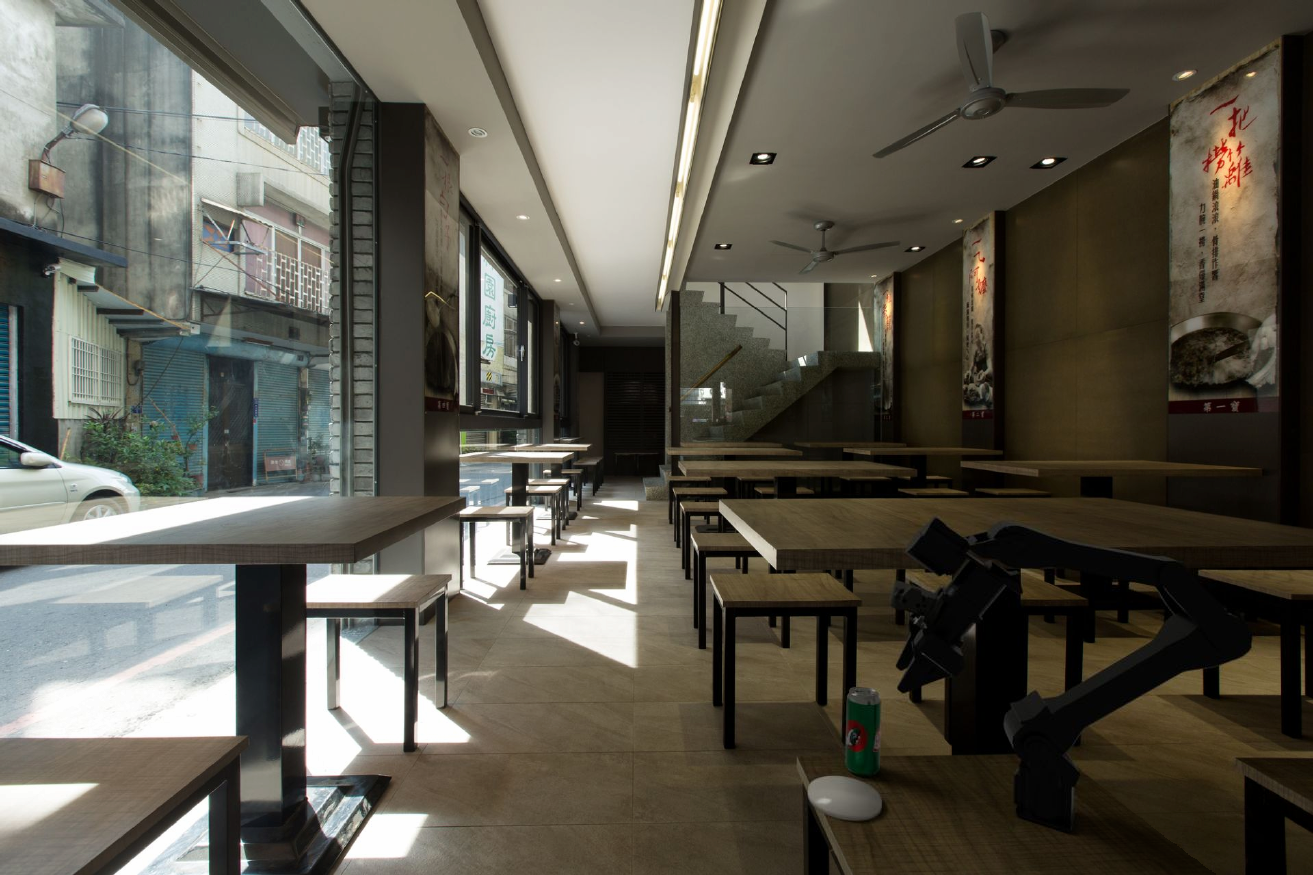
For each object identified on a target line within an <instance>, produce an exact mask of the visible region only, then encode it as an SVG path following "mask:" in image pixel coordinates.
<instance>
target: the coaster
mask: <svg viewBox="0 0 1313 875" xmlns="http://www.w3.org/2000/svg"><path fill="white" fill-rule="evenodd" d="M807 798H808V800H809V802H810V804H811V805H812V806H813V807H814V808H815V809H816V810H818V811H819V812H821V813H823V814H825V815H827V816H829V817H832V818H835V819H839V820H843V821H851V822H862V821H869V820H871V819H874V818H876V817H877V816H878V815H880V813H881V812H882V807H883V805H882V803H883V800H882V797H881V795H880V793H879V792H878V791H877V789H875V788H874V787H873V786H871V785H869V784H868V783H867V782H864V781H861V780H858V779H857V778H856V779H855V778H851V777H848V776H841V775H828V776H827V775H826V776H822V777H817V778H816V779H814V780H812V781H811V782H810V784H808V787H807Z"/></svg>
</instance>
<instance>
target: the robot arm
mask: <svg viewBox="0 0 1313 875" xmlns="http://www.w3.org/2000/svg"><path fill="white" fill-rule="evenodd" d="M969 551H971V552H972V553H974V555H977V556H978V557H979V558H981V559H986V561H985V562H983V561H981V560H980V559H978V558H976V557H975V556H974V555H972V554H971V553H969ZM904 554H906V555H908V557H910V558H912V559H913V560H914V561H916V562H917V563H919V564H920V565H921V566H923V567H925V569H927V570H929V572H932V574H934V575H936V576H937V577H939V578H940V577H943V575H946V576H950V577H951V576H953V575H954V577H953V578H952V580H951V581H950V582H949V583H948V584H947V585H946V586H944V585H943V586H942V587H941V586H939V587H938V588H937V590H936V591H935V592H934V591H929V590H927V589H925V588H923V587H920V586H917V585H913V584H910V583H908V582H904V581H901V580H894V585H893V586H892V587H893V588H892V590H891V594H890V597H889V606H890V608H893V609H895V610H898V611H904V612H908V613H909V616H908V618H907V619H908V626H909V635H908V638H907V639H906V641H905V644H904V646H903V648H902V650H901V653H900V654H899V657H898V659H897V661H896V663H895V668H896V669H898V671H899V672H903V671H904V670H905V671H904V673H903V675H902V677H901V679H900V681H899V683H898V684H897V687H896V689H897V691H898V692H900V693H901V694H907V693H908V692H912V691H914V690H916V689H918V688H922V687H924V686H926V685H929V684H931V683H934V682H937V681H940V680H943V679H946V678H948V679H949V678H952V677H955V678H957V677H958V675H960V673H961V672H962V671H963V670H964V668H965V667H966V665H965V664H966V663H965V659H964V655H963V652H962V650H961V647H962V646H963V644H964V643H965V642H964V639H963V638H964V637H965V636H966V634H968V632H969V631H970V630H971V629H972V628H973V626H974V625H977V626H980V625H981V623H982V622H983V620H984V619H983V617H982V615H984V614H985V612H986V611H987V609H989V607H991V605H993V604H992V603H994V601H995V600H996V599H997V598H998V597H999V596H1000V594H1001V593H1002V592H1003V591H1004V589H1005V588H1006V587H1007V588H1009V589H1010V590H1012V592H1014V593H1016V594H1017V595H1023V593H1024V590H1023V586H1022V582H1021V580H1022V575H1021V573H1020V572H1019V571H1017V570H1014V571H1007V569H1005V568H1003V567H1002V566H1001V565H999V564H997V563H996V562H994V561H993V560H998V562H1000V563H1001V564H1003V565H1005V566H1007V567H1010V568H1014V569H1031V570H1032V569H1033V570H1036V569H1037V570H1045V569H1065V570H1072V571H1075V572H1082V573H1086V574H1089V575H1095V576H1102V577H1105V578H1111V579H1115V580H1121V581H1126V582H1130V583H1135V584H1140V585H1145V586H1149V587H1154V588H1155V589H1156V591H1157V593H1158V595H1159V596H1160V598H1161V599H1162V601H1163V602H1164V604H1165V606H1167V608H1168V610H1169V611H1171V612H1170V613H1172V615H1171V616H1170V617H1169V618H1167V619H1166V620H1165V621H1164V623H1163V624H1162V626H1161V627H1160V629H1159V630H1158V631H1157V633H1156V635H1155V637H1154V638H1153V639H1152V640H1151V641H1149V642H1148V643H1146V644H1144V645H1143V646H1141V647H1139V648H1137V649H1136V650H1134V651H1132V652H1131V653H1129V654H1127V655H1125V656H1124V657H1122V658H1120V659H1119V660H1117V661H1116V662H1114V663H1112V664H1111V665H1110V664H1109V665H1108V666H1107V667H1105V668H1103V669H1102V670H1100V671H1099V672H1097V673H1095V674H1094V675H1092V676H1090V677H1087V679H1085V680H1083V681H1081V682H1080V683H1078V684H1077V685H1075V686H1073V687H1071V688H1070V689H1068V690H1066V691H1065V692H1063V693H1061V694H1059V695H1057V696H1050V697H1043V698H1042V696H1041V694H1040V693H1039V692H1038V690H1035V689H1034V690H1033V691H1031V692H1029V693H1028V694H1027V695H1026V696H1025V697H1023V698H1022V699H1020V700H1018V701H1013V702H1010V707H1011V708H1010V709H1009V710H1008V711H1006V713H1005V715H1004V719H1003V729H1004V732H1005V734H1006V737H1007V738H1008V741H1009V743H1010V744H1011V747H1012V749H1013V751H1014V753H1015V754H1016V756H1017V757H1018V758H1019V759H1020V763H1019V765H1018V767H1017V768H1016V770H1015V772H1014V775H1013V804H1014V805H1015V807H1016V808H1015V810H1014V811H1015V813H1014V815H1016V816H1017V817H1020V818H1023V819H1026V820H1029V821H1032V822H1035V823H1038V824H1041V825H1045V826H1047V827H1051V828H1054V829H1058V830H1060V831H1063V832H1067V833H1071V832H1072V830H1073V825H1074V824H1073V823H1074V819H1075V815H1076V808H1075V807H1074V801H1075V800H1074V799H1075V798H1074V796H1075V787H1076V785H1077V783H1078V781H1079V779H1080V778H1081V777H1080V776H1081V772H1080V770H1079V769H1078V767H1077V766H1076V765H1075V763H1074V761H1073V759H1072V758H1071V756H1070V754H1069V753H1068V752H1069V751H1070V750H1071V749H1072V748H1073V747H1074V745H1075V743H1076V741H1077V740H1078V739H1079V737H1080V736H1081V734H1082V732H1083V731H1084V730H1085V729H1086V728H1088V727H1089V726H1092V725H1093V724H1095V723H1096V722H1098V721H1100V720H1102V719H1104V718H1105V717H1107V716H1109V715H1110V714H1112V713H1115V712H1116V711H1118V710H1120V709H1122V708H1123V707H1125V706H1127V705H1128V704H1130V703H1132V702H1134V701H1135V700H1137V699H1139V698H1140V697H1142V696H1144V695H1146V694H1147V693H1150V692H1151V691H1152V690H1155V689H1156V688H1158V687H1159V686H1161V685H1163V684H1165V683H1167V682H1168V681H1170V680H1172V679H1175V677H1177V676H1179V675H1181V674H1183V673H1186V672H1193V671H1198V670H1206V669H1212V668H1216V667H1217V668H1218V667H1219V666H1223V665H1225V664H1228V663H1230V662H1233V661H1236V660H1239V659H1241V658H1244V657H1245V656H1246V655H1247V654H1248V653H1250V651H1251V650H1252V648H1253V646H1252V642H1253V634H1252V631H1251V629H1250V627H1249V625H1248V624H1247V623H1246V622H1245V621H1243V619H1241V618H1240V617H1238V616H1236V615H1234V614H1232V613H1229V612H1228V610H1226V608H1225V607H1224V606H1223V605H1222V604H1221V602H1219V601H1218V600H1217V599H1216V598H1215V597H1214V595H1212V594H1211V593H1210V592H1209V591H1208V590H1207V589H1206V588H1205V587H1204V586H1203V585H1202V584H1201V583H1200V582H1199V580H1198V579H1197V578H1196V577H1195V575H1194V574H1193V573H1192V572H1191V570H1190V569H1189V567H1188V566H1187V565H1185V564H1184V563H1183V562H1181V561H1178V560H1175V559H1173V558H1171V557H1168V556H1165V555H1158V556H1157V555H1155V556H1154V555H1150V554H1144V553H1138V552H1133V551H1127V550H1124V549H1117V548H1114V547H1113V548H1112V547H1106V546H1103V545H1097V544H1092V543H1086V542H1079V541H1075V540H1070V539H1064V538H1060V537H1059V536H1056V535H1052V534H1050V533H1047V532H1044V531H1042V530H1039V529H1037V528H1034V527H1031V526H1028V525H1025V524H1022V523H1021V522H1016V521H1015V520H1014V521H1013V520H1005V519H1004V520H1003V519H1002V520H999V521H997V522H995V523H993V524H992V525H991V526H990V527H989V529H988V530H987V531H982V532H977V533H974V534H970V535H966V536H962V535H961V534H960V533H958V532H956V530H953V529H952V528H951V527H949V526H948V525H946V523H945V522H944V521H943V520H942V519H941V518H939V517H937V516H933V517H932V518H931V519H930V520H929V522H927V523H926V524H925V525H924V526H923V527H922V528H921V529H920V530H917V532H916V533H915V534H913V537H912V538H911V540H909V542H908V544H907V546H906V547H905V550H904ZM987 559H988V560H987ZM989 559H990V560H989ZM966 560H967V561H966ZM965 561H966V562H965ZM964 562H965V563H964ZM959 569H960V570H959ZM958 570H959V571H958ZM957 571H958V572H957ZM956 572H957V573H956ZM955 573H956V575H955Z"/></svg>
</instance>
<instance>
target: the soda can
mask: <svg viewBox="0 0 1313 875" xmlns="http://www.w3.org/2000/svg"><path fill="white" fill-rule="evenodd" d="M848 691H849V692H848V694H847V696H846V709H845V710H846V711H845V712H846V717H845V722H846V723H845V757H846V758H845V762H844V763H845V766H846V768H847V769H848V770H849V772H851V773H853V774H855V775H857V776H859V777H860V776H861V777H873V776H875V775H876V774H877V773H879V771H880V767H881V765H880V764H881V729H882V728H881V727H882V725H881V722H882V699H881V698H880V695H879V692H878V691H877V690H875V689H873V688H870V687H865V686H854V687H850V689H849V690H848Z"/></svg>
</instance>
